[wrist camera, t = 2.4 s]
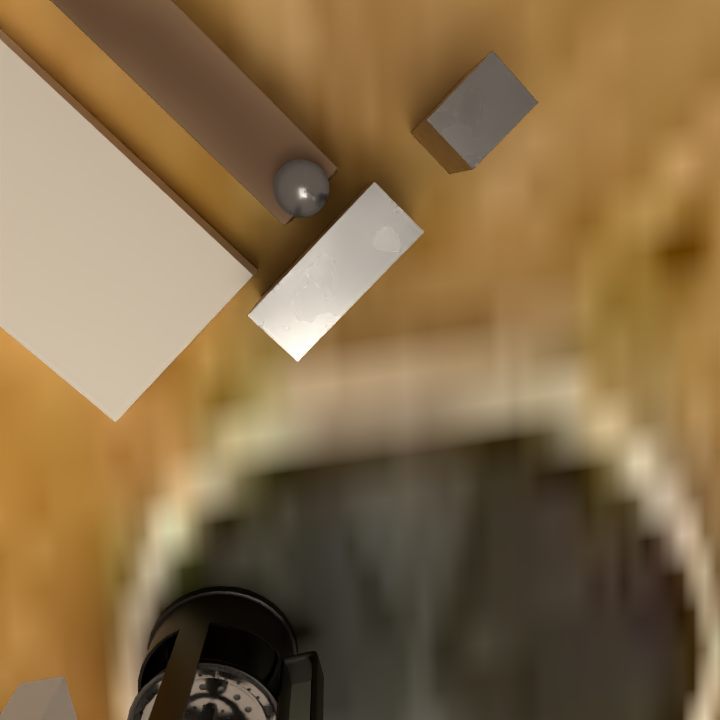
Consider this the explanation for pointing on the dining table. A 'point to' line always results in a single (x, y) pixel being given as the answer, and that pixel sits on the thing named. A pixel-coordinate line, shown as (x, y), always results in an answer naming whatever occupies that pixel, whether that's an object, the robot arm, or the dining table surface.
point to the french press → (222, 663)
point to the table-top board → (97, 246)
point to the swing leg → (199, 90)
